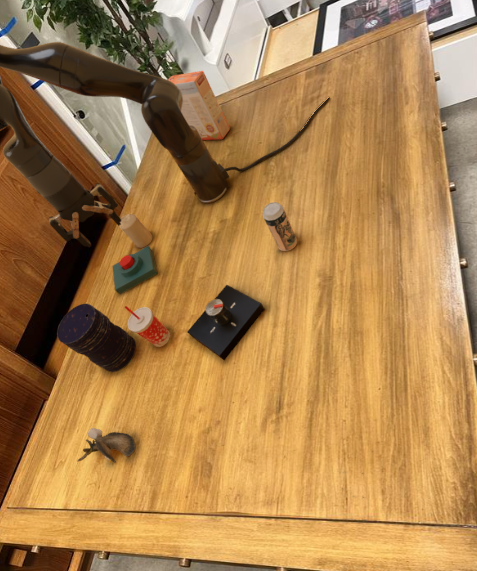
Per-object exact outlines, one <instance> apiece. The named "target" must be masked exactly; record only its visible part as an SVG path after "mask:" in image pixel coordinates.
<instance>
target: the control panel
mask: <svg viewBox="0 0 477 571" xmlns="http://www.w3.org/2000/svg"><path fill="white" fill-rule="evenodd" d="M214 299H220V300H221V301H222V302H223V303H224V304H225V306H226V307H227V308H228V310H229V311H230V312H231V320H230V321H229V322H228V323H227V324H226V325H223V326H219V325H217V324H216V323H215V322H214V321H213V320H212V319H211V318H210V316H209V315H208V314H207V313H206V309H205V310H204V311H203V312H202V313H201V315H199V316H198V318H197V319H196V320H195V321H194V322H193V324H192V325H191V326H190V327H189V329H188V330H187V331H186V333H187V334H188V335H189V336H191V338H192V339H194V340H195V341H197V343H200V345H202V346H204V347H205V348H206V349H207V350H209V351H211V352H212V353H214V355H216V356H217V357H218V358H220V359H222V361H224V362H225V361H226V360H227V358H228V357H229V355H231V353H232V352H233V351H234V350H235V348H236V347H237V346H238V344H240V342H241V340H242V339H243V338H244V337H245V336H246V334H247V333H248V332H249V330H250V329H251V328H252V327H253V325H254V324H255V323H256V321H257V320H258V319H259V318H260V317H261V315H262V314H263V313H264V311H265V310H266V308H265V307H264V305H263V304H262V302H259V301H258V300H256V299H254V298H252V296H248V294H245V293H243V292H242V291H239V290H238V289H236V288H234V287H232V286H230V285H228V284H226V285H224V287H223V288H222V289H221V291H220V292H219V293H218V294H217V295H216V296H215V297H214Z"/></svg>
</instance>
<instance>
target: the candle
mask: <svg viewBox="0 0 477 571" xmlns="http://www.w3.org/2000/svg"><path fill="white" fill-rule="evenodd" d="M120 219H121V222H120V223H121V225H119V226H118V227H119V229H120V230H121V231H122V232H123V233H124V234H125V235H126V236H127V237H128V238H129V240H130V241H131V242H132V243H133V244H134V245H135V246H136V248H139V249H143V248H145V247H147V246H149V244H151V242H152V240H153V235H152V234H151V232H150V231H149V230H148V229H147V227H146V226H145V225H144V224H143V223H142V222H141V220H140V219H139V218H138V216H137V215H136V214H134V213H126V214H124V215H123V216H122V217H120Z"/></svg>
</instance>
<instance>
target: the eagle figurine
mask: <svg viewBox="0 0 477 571" xmlns="http://www.w3.org/2000/svg"><path fill="white" fill-rule="evenodd" d="M87 436H88V437H89V438H90V439H92V441H91V440H89V439H85V442H86V443H87V444H88V445H89V448H88V447H87V448H86V447H85V448H83V449H82V452H83V453H84V454H83V455H82V456H81V457H80V458H78V459H77V460H76V461H77V462H81V461H83V460H85V459H86V458H87V457H88V456H89V455H91V454H92V453H95V452H99V453H100V454H101V455H102V456H103V457H104V458H105V459H106V460H107V461H109V463H110V464H111V463H112V462H113V463H117V461H116V460H115V458H114V456H113V453H112V450H114V451H117V452H120V453H121V454H122V455H124V456H125V457H127V458H128V457H130V456H131V455H132V454H133V453H134V452H135V450H136V446H135V445H136V443H135V442H134V441H135V440H134V439H133V436H131V435H130V434H128V433H124V432H117V431H112V432H108V433H107V434H105V435H103V430H102V429H100V428H97V427H91V428H90V429H89V430H88V432H87Z"/></svg>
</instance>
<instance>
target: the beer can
mask: <svg viewBox="0 0 477 571" xmlns="http://www.w3.org/2000/svg"><path fill="white" fill-rule="evenodd" d="M262 218H263V220H264V221H265V223H266V224H265V225H266V226H267V227H268V229H269V232H270V234H271V236H272V238H273V240H274V242H275V244H276V246H277V248H278V249H279V250H280V251H283V252H287V251H291V250H293V249H294V248H295V247H296V246H297V244H298V238H297V237H296V234H295V232H294V229H293V227H292V224H291V221H290V220H289V217H288V215H287V213H286V211H285V208H284V206H283V205H282V204H280V203H279V202H276V201H273V202H269V203H267V204H266V205H265V206H264V208H263V209H262Z"/></svg>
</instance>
